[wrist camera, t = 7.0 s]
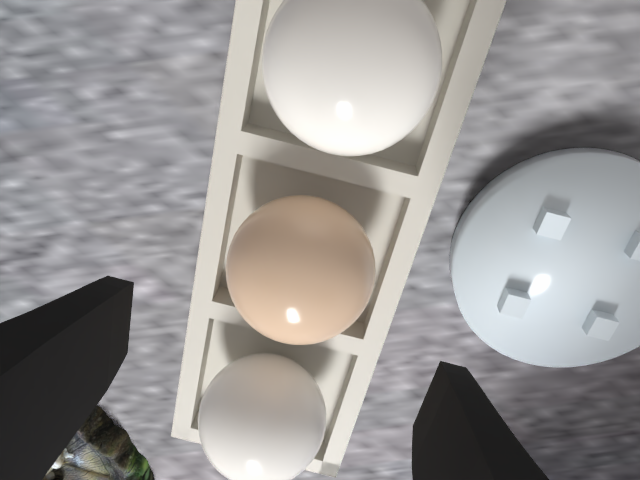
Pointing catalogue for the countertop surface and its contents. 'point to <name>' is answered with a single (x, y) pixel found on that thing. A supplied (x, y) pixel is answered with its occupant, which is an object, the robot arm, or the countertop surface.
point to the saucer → (553, 259)
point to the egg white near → (351, 71)
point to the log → (100, 454)
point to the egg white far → (262, 418)
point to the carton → (331, 184)
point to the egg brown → (300, 270)
